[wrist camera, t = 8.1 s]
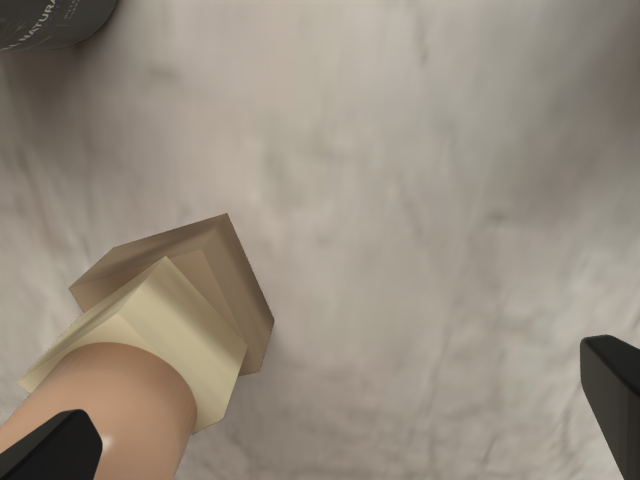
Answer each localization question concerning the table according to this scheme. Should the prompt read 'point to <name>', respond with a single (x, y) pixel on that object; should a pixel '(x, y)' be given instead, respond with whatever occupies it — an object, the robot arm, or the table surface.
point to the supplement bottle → (49, 22)
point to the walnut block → (193, 278)
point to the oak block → (161, 336)
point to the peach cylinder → (116, 409)
